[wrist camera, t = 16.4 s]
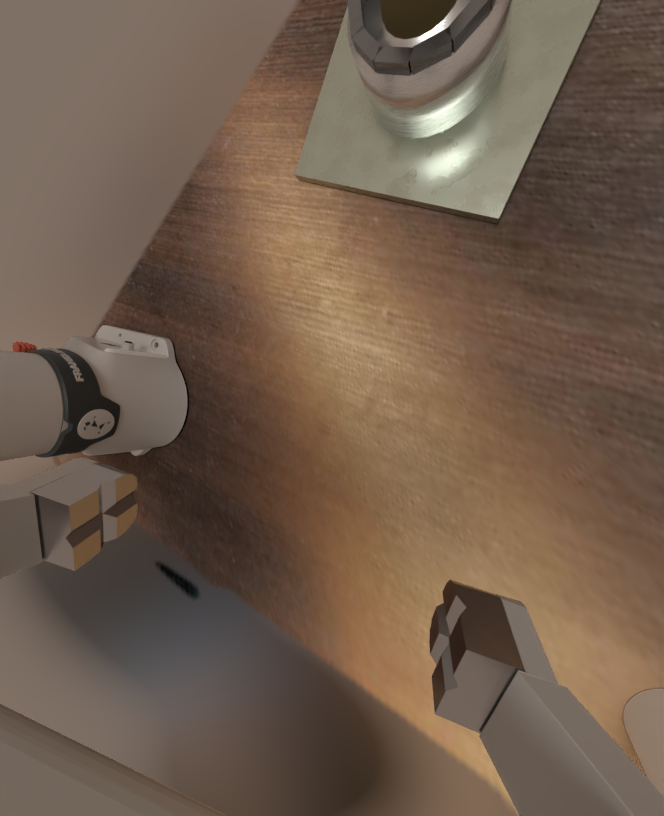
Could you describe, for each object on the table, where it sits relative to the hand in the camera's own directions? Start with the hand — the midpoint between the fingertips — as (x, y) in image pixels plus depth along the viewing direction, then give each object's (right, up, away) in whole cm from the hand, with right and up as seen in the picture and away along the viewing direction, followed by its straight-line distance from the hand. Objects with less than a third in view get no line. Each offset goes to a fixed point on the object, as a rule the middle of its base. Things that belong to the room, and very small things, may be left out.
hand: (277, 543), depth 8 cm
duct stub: (+11, +34, +21) cm, 42 cm away
